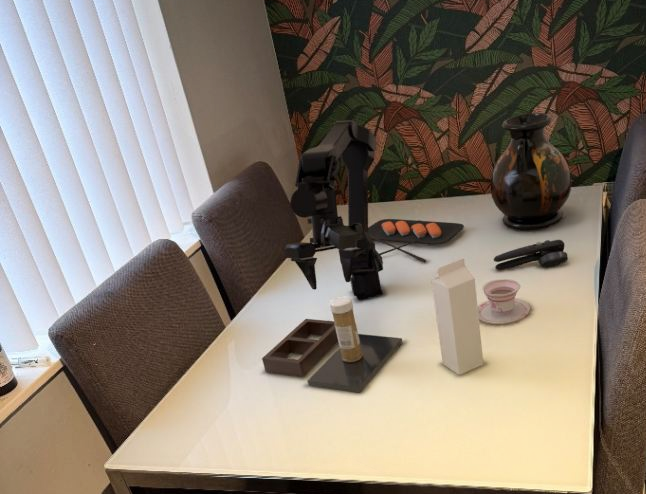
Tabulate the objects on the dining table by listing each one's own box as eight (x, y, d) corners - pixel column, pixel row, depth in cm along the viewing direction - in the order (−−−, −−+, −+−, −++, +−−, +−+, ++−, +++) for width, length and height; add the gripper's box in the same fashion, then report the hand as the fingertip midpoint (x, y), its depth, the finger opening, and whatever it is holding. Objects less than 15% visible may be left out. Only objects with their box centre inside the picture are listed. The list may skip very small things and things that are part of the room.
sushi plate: (468, 230, 214) (467, 217, 212) (415, 274, 194) (413, 260, 192) (382, 224, 229) (380, 212, 227) (325, 264, 209) (322, 251, 207)
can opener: (564, 254, 190) (563, 233, 187) (569, 266, 184) (568, 244, 181) (493, 264, 191) (491, 243, 189) (495, 275, 186) (493, 254, 183)
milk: (483, 364, 151) (474, 262, 140) (458, 375, 149) (446, 273, 138) (466, 353, 156) (455, 253, 145) (441, 364, 154) (428, 263, 142)
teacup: (540, 306, 168) (539, 280, 165) (509, 329, 162) (507, 303, 158) (496, 296, 176) (494, 271, 173) (464, 318, 169) (461, 293, 166)
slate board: (354, 338, 170) (353, 333, 169) (402, 342, 164) (402, 338, 164) (308, 385, 155) (307, 380, 155) (359, 392, 150) (358, 387, 149)
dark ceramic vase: (565, 236, 199) (561, 127, 185) (485, 237, 208) (475, 133, 193) (578, 206, 216) (575, 105, 201) (503, 208, 224) (495, 111, 210)
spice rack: (308, 332, 176) (305, 318, 174) (344, 335, 171) (341, 321, 170) (265, 372, 163) (261, 358, 161) (302, 377, 158) (299, 362, 157)
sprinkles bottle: (367, 354, 160) (355, 296, 153) (354, 365, 157) (342, 306, 150) (350, 350, 162) (338, 294, 155) (337, 361, 159) (324, 303, 152)
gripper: (310, 218, 150) (319, 296, 154) (381, 207, 161) (387, 281, 166) (279, 217, 158) (288, 292, 162) (349, 207, 169) (355, 277, 174)
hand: (331, 285), depth 166 cm, fingers open, 9 cm apart
